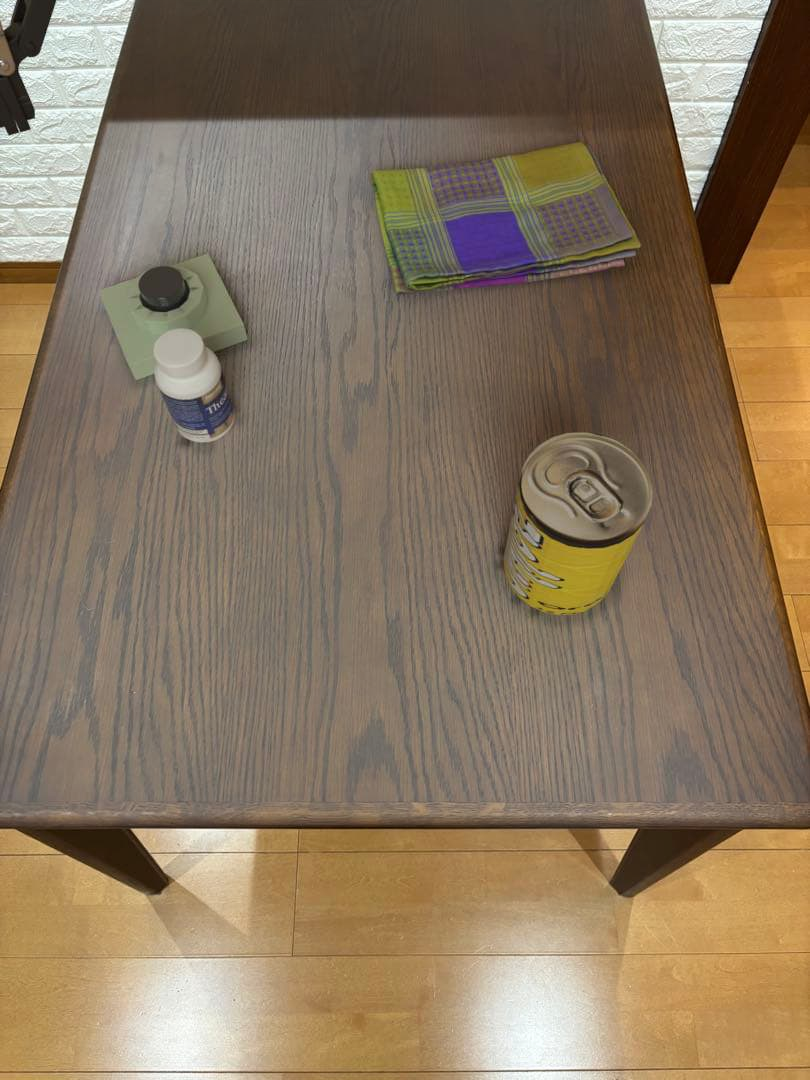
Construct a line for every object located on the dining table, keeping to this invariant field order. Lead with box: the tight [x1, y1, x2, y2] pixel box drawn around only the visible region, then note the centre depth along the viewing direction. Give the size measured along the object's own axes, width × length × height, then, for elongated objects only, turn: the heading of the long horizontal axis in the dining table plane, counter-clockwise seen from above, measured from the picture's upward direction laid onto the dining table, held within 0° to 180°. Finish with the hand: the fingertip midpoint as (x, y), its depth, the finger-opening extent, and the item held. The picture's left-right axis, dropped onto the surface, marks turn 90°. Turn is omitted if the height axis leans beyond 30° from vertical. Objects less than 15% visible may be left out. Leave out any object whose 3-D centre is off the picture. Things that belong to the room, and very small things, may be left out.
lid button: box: [138, 265, 187, 312], centre depth 75 cm, size 4×4×2 cm
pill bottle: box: [153, 328, 236, 443], centre depth 69 cm, size 5×5×10 cm
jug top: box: [98, 253, 249, 381], centre depth 77 cm, size 11×10×4 cm
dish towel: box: [370, 141, 642, 296], centre depth 83 cm, size 18×24×3 cm
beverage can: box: [502, 431, 654, 616], centre depth 61 cm, size 9×9×12 cm
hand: (16, 125), depth 53 cm, fingers closed
